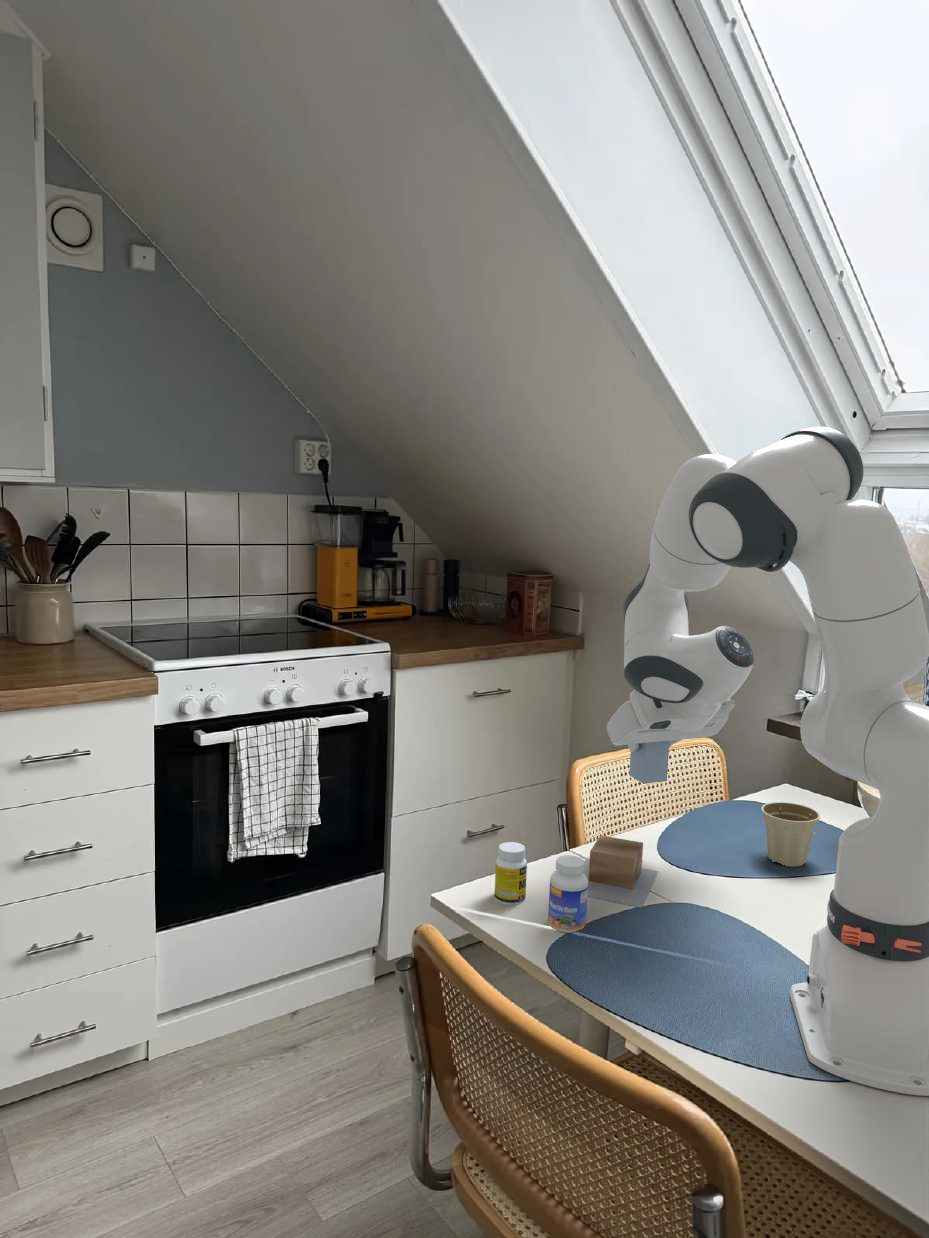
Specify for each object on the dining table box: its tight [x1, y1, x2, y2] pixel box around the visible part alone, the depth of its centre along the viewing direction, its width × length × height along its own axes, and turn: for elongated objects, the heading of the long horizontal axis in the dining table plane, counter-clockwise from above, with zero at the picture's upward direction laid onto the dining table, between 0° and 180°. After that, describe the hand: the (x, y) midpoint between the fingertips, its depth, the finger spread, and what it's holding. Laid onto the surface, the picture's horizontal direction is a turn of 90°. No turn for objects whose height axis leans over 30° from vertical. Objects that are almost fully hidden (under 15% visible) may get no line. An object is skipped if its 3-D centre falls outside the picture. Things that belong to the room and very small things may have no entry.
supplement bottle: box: [493, 841, 528, 906], centre depth 139 cm, size 5×5×8 cm
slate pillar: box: [628, 741, 670, 785], centre depth 155 cm, size 4×4×10 cm
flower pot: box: [760, 801, 821, 867], centre depth 157 cm, size 9×9×9 cm
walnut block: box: [589, 835, 644, 889], centre depth 148 cm, size 7×7×5 cm
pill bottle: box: [547, 854, 588, 934], centre depth 132 cm, size 5×5×10 cm
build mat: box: [583, 857, 659, 909], centre depth 146 cm, size 14×12×1 cm
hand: (647, 746), depth 155 cm, fingers closed on slate pillar, 4 cm apart
